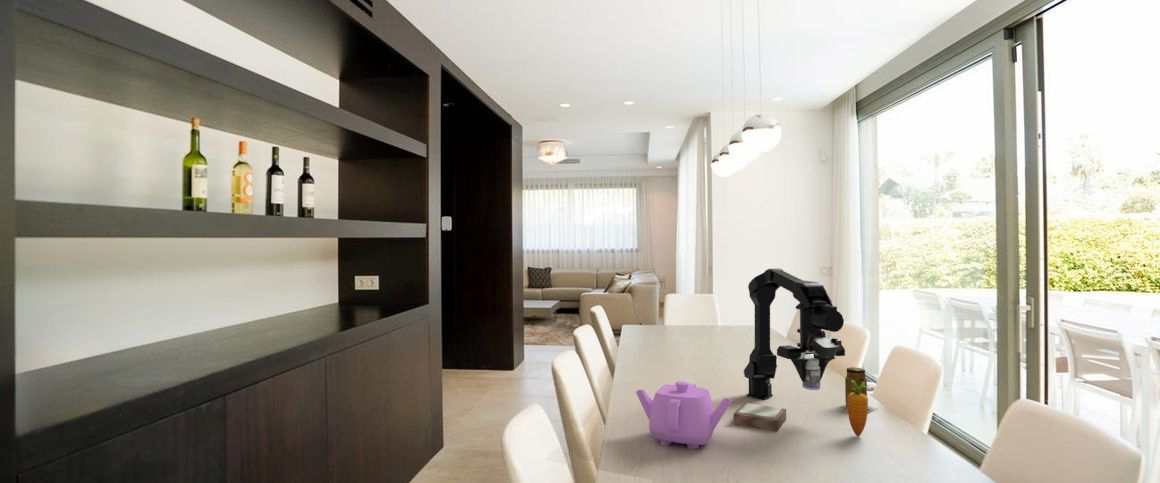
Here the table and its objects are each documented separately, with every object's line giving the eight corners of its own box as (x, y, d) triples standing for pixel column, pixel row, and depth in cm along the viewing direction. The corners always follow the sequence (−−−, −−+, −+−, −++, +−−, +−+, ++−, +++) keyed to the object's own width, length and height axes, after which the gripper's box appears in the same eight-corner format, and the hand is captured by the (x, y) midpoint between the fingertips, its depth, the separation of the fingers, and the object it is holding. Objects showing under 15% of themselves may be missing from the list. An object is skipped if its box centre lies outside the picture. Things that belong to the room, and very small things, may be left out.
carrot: (866, 434, 143) (866, 378, 143) (870, 440, 138) (869, 382, 138) (846, 432, 144) (845, 376, 145) (848, 438, 140) (848, 381, 140)
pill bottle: (799, 386, 155) (799, 357, 155) (814, 385, 155) (814, 357, 156) (807, 390, 150) (807, 360, 150) (823, 390, 151) (823, 360, 151)
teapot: (735, 447, 134) (734, 387, 135) (673, 459, 127) (672, 395, 128) (690, 424, 152) (690, 371, 152) (634, 433, 145) (633, 377, 145)
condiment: (850, 402, 172) (849, 365, 172) (878, 408, 165) (877, 370, 166) (839, 407, 167) (839, 368, 167) (868, 413, 161) (867, 373, 161)
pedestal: (733, 424, 152) (733, 412, 152) (744, 412, 162) (744, 401, 162) (777, 431, 146) (777, 419, 146) (786, 419, 156) (786, 407, 156)
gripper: (800, 332, 143) (800, 390, 143) (859, 329, 147) (859, 385, 147) (775, 326, 154) (776, 380, 154) (831, 323, 158) (831, 376, 158)
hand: (811, 380), depth 153 cm, fingers closed on pill bottle, 5 cm apart
